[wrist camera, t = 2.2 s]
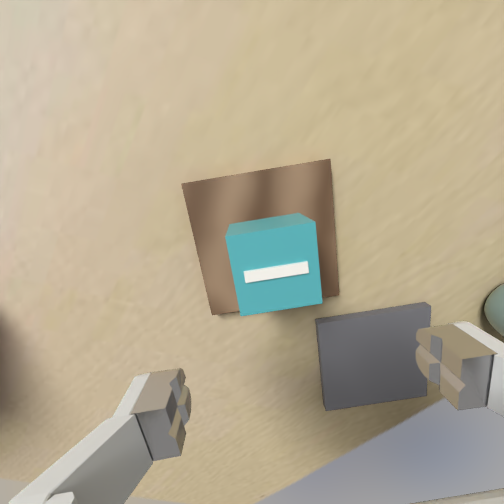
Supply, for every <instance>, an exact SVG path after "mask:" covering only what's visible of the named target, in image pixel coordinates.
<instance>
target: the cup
mask: <svg viewBox="0 0 504 504" xmlns="http://www.w3.org/2000/svg"><path fill="white" fill-rule="evenodd" d="M484 312H485V316H486V318H487V320H488V322H489V323H490V325H491V326H492V327H493V328H494V329H495V330H496V331H497V332H498V333H499V334H501V335H502V336H503V337H504V283H503V284H501V285H500V286H498V287H497V288H496V289H495V290H494V291H493V292H492V293H491V294H490V295H489V297H488V298H487V300H486V302H485V306H484Z"/></svg>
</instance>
